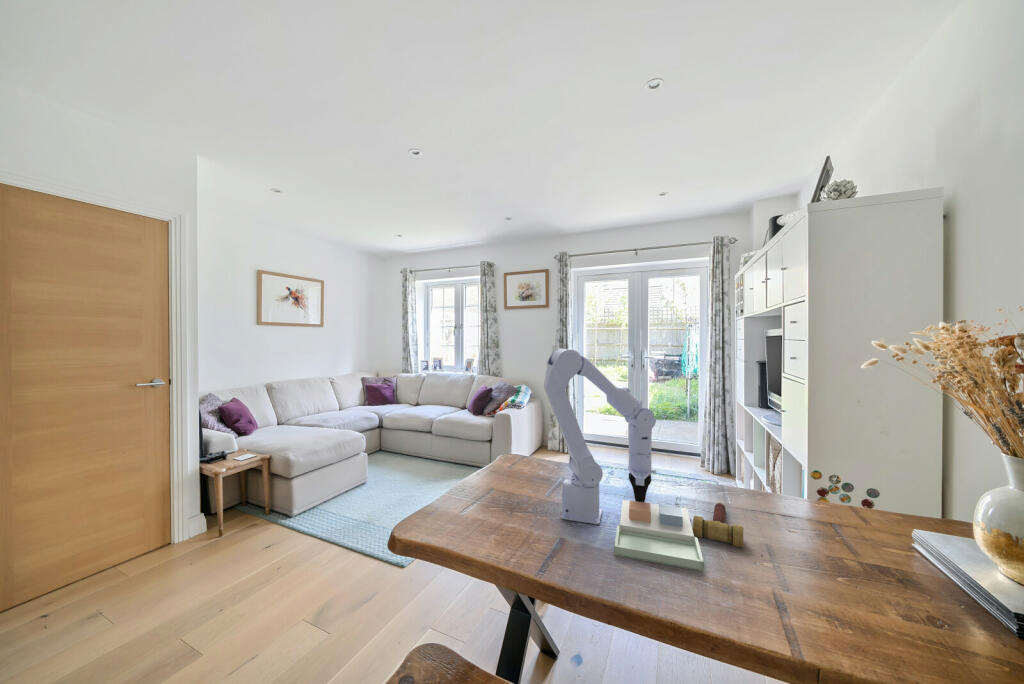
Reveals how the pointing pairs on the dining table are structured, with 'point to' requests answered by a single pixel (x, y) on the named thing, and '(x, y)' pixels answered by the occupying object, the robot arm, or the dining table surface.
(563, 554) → the dining table surface
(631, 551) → the tray
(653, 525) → the board
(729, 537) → the gavel
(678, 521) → the tile slate
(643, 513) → the tile terracotta
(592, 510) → the robot arm
